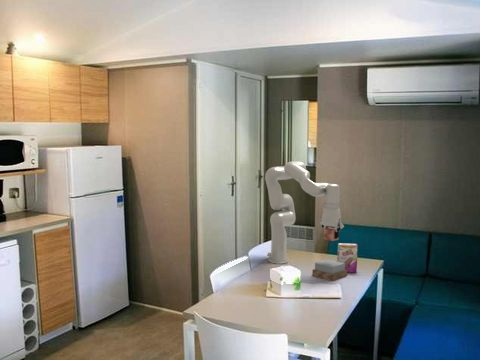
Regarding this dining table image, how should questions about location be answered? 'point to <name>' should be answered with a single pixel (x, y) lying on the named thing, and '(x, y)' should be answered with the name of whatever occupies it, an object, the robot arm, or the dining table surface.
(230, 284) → the dining table surface
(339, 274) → the walnut base slab
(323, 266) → the grey top slab
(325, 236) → the brick-red cube
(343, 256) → the candy bar box
